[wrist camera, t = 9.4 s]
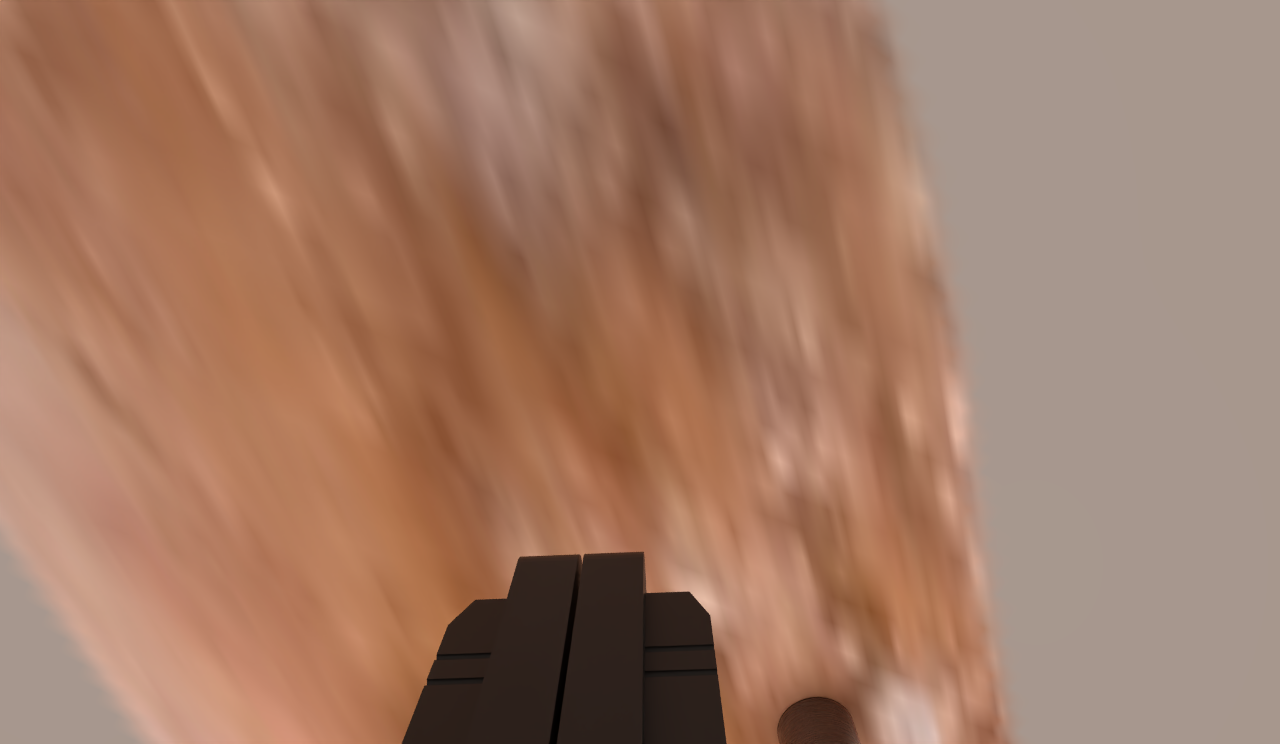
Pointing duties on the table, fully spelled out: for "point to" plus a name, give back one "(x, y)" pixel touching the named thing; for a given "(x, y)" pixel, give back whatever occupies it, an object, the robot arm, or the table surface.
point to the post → (817, 723)
